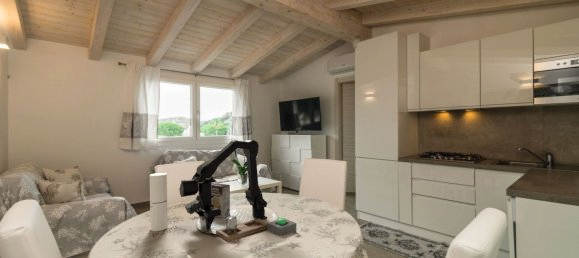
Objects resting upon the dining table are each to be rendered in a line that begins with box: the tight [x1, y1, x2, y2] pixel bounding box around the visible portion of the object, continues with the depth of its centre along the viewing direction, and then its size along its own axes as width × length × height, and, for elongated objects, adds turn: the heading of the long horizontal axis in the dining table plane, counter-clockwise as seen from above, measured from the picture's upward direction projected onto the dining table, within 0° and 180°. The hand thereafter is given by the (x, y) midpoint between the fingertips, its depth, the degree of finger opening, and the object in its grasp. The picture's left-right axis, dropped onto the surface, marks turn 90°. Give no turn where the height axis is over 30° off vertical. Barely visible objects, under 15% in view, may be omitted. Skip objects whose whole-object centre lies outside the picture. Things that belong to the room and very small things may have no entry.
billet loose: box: [199, 215, 212, 232], centre depth 119 cm, size 4×4×7 cm
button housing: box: [266, 218, 297, 237], centre depth 117 cm, size 9×9×4 cm
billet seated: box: [225, 215, 238, 235], centre depth 113 cm, size 4×4×7 cm
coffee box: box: [211, 182, 231, 219], centre depth 141 cm, size 9×6×16 cm
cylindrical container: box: [149, 172, 169, 232], centre depth 123 cm, size 7×7×25 cm
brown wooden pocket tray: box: [215, 218, 267, 242], centre depth 116 cm, size 10×20×2 cm, turn 132°
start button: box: [276, 217, 287, 226], centre depth 117 cm, size 4×4×2 cm
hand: (205, 228), depth 119 cm, fingers closed on billet loose, 4 cm apart
